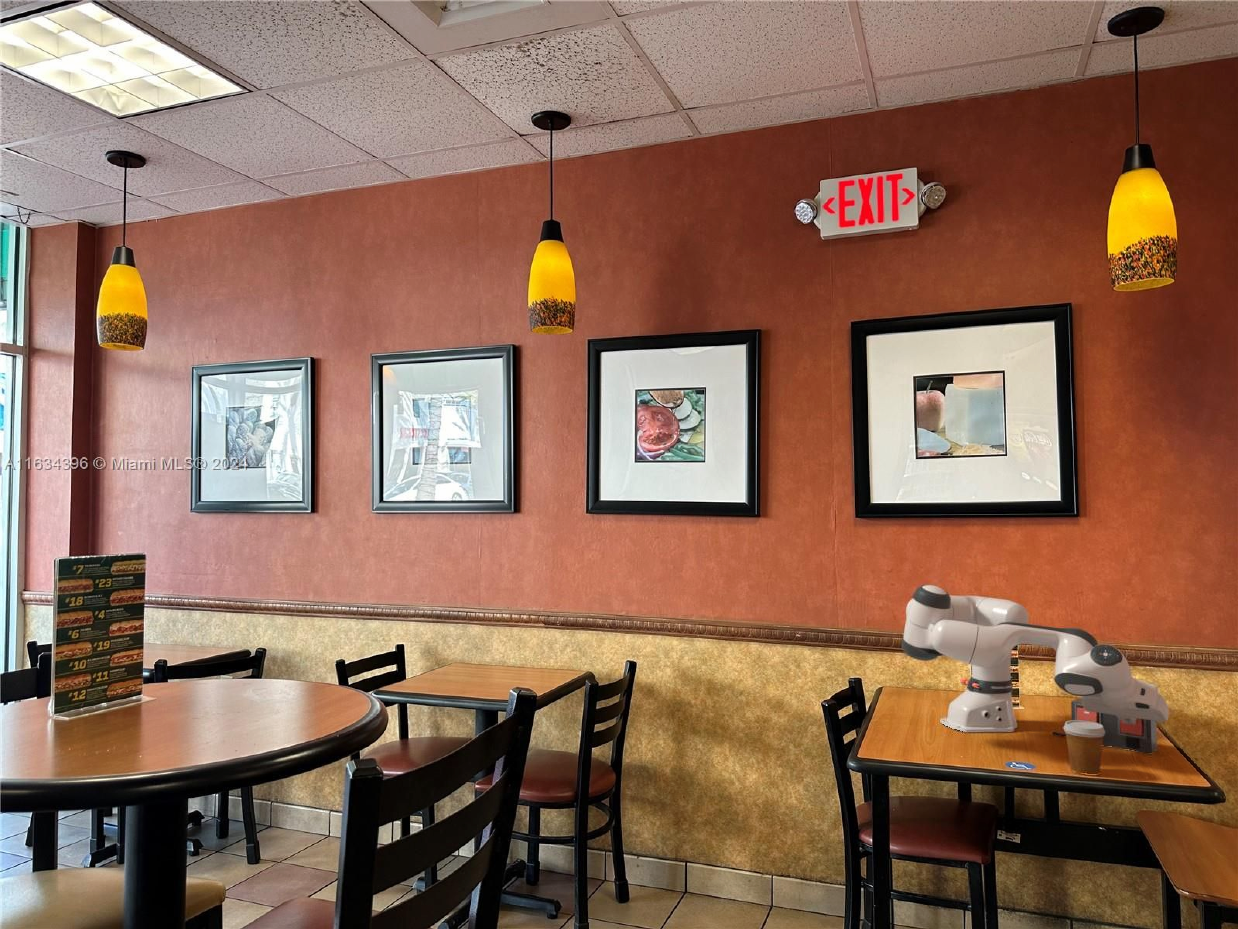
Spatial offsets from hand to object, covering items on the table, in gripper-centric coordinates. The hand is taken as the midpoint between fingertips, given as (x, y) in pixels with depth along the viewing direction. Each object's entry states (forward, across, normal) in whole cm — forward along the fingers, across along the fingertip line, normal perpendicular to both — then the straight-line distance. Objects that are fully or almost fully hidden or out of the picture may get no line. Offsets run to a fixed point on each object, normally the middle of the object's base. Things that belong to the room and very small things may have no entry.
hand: (1129, 721), depth 239 cm
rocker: (+3, -11, -2) cm, 12 cm away
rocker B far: (+4, 0, -1) cm, 4 cm away
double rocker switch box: (+10, -9, -2) cm, 13 cm away
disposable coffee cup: (-12, -4, -24) cm, 27 cm away
